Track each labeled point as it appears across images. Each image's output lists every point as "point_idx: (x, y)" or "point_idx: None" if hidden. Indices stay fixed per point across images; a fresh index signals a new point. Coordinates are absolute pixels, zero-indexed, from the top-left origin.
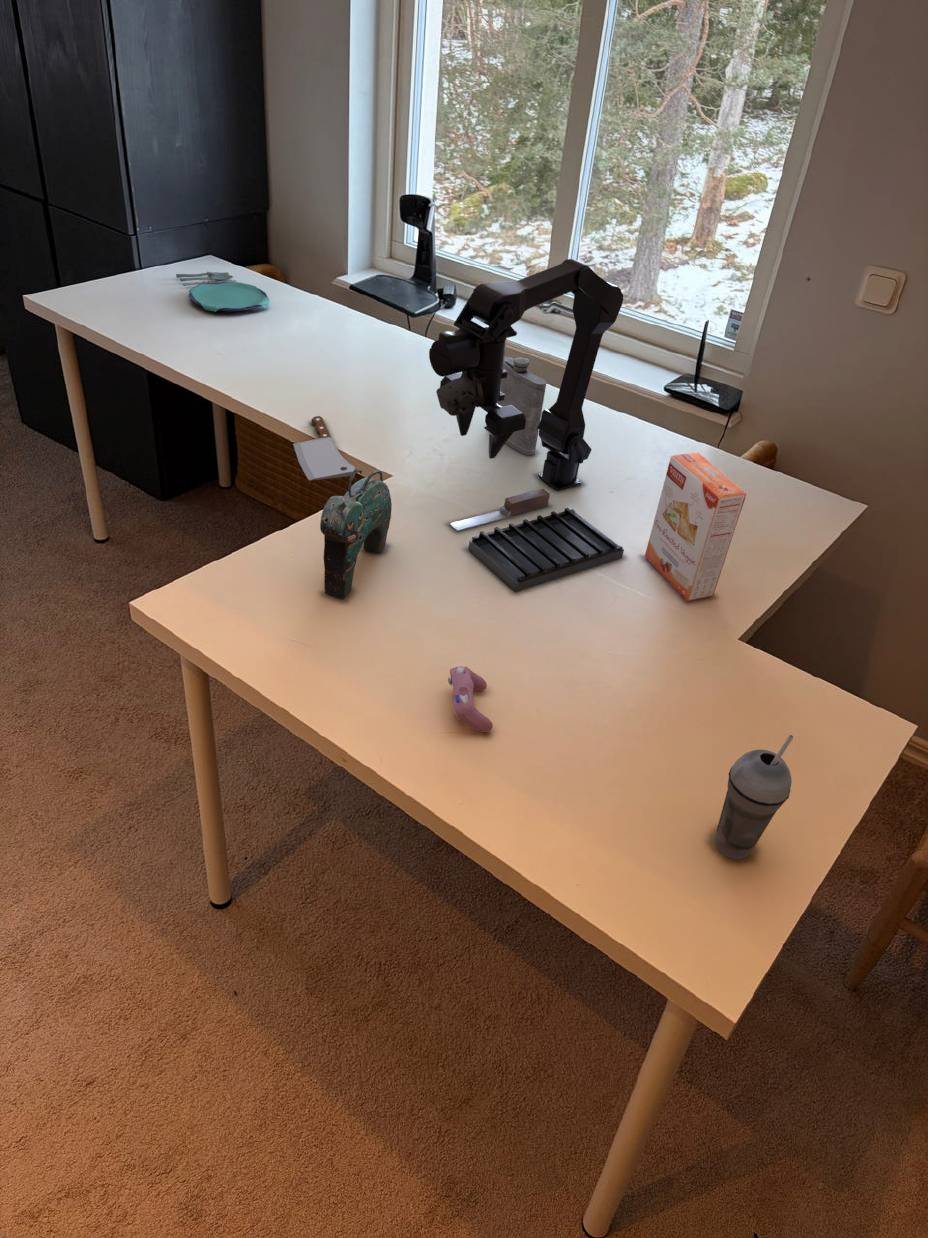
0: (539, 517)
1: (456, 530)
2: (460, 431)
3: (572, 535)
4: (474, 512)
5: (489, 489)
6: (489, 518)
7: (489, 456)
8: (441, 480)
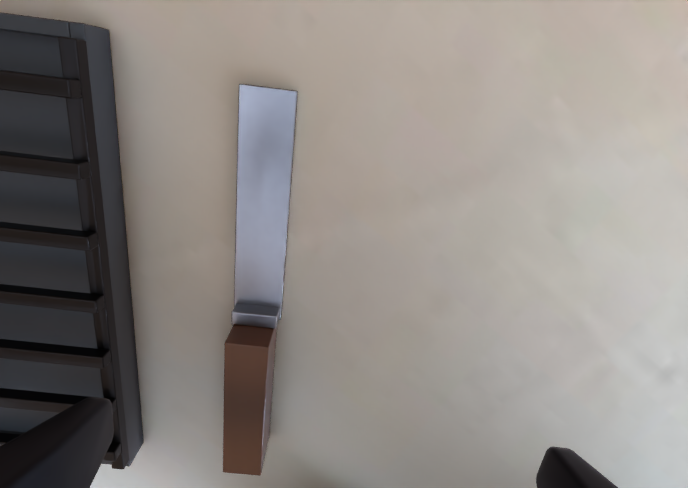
0: (89, 356)
1: (245, 84)
2: (585, 474)
3: (49, 388)
4: (320, 233)
5: (406, 363)
6: (252, 246)
7: (84, 406)
8: (551, 273)
